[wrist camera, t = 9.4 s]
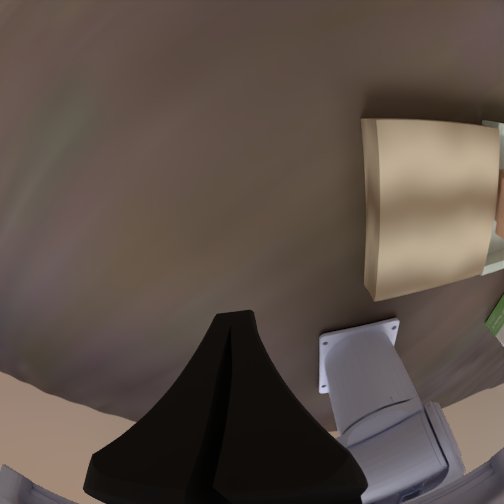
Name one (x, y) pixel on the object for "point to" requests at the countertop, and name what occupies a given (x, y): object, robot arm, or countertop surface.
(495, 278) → the countertop surface
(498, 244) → the tray
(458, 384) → the countertop surface
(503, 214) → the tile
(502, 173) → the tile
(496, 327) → the ink box
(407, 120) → the beige square slab
